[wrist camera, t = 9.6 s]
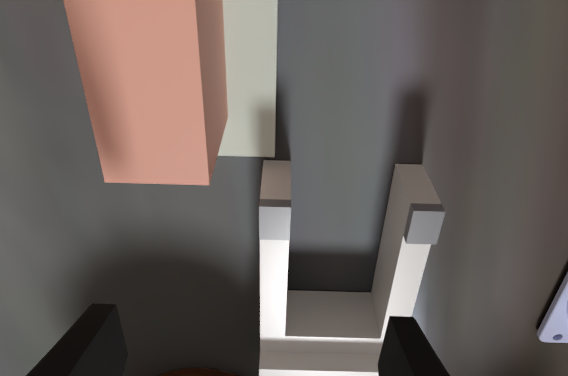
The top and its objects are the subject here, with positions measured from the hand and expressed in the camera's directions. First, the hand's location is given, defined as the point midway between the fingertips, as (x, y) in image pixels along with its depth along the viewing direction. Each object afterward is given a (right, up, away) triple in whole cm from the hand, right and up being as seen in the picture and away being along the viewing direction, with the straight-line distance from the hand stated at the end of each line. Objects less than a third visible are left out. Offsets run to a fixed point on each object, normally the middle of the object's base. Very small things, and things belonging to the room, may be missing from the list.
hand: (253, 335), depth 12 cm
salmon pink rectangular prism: (-3, +11, +3) cm, 12 cm away
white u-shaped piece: (+3, 0, +11) cm, 12 cm away
